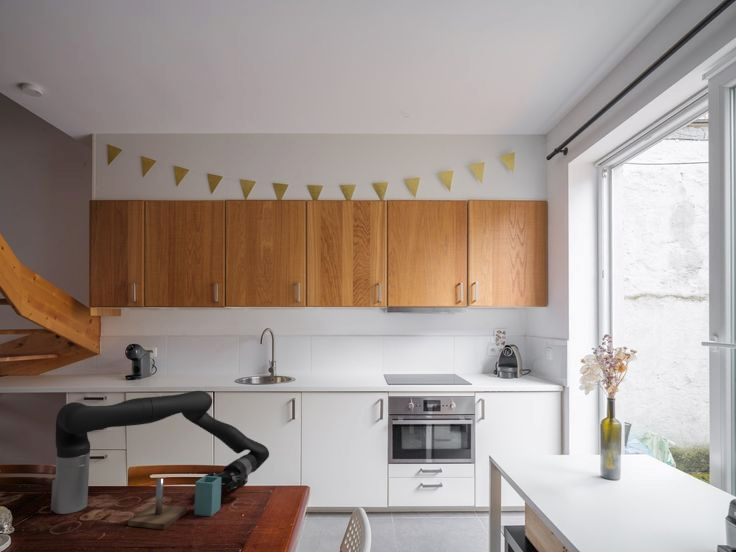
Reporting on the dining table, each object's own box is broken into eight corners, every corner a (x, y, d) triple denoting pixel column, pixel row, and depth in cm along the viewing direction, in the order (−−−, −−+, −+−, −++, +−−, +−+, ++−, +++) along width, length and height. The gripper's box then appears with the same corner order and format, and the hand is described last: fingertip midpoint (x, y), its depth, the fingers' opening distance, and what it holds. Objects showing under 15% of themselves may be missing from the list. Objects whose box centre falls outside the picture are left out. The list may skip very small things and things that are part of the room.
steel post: (153, 514, 147) (155, 479, 147) (157, 512, 148) (159, 477, 149) (159, 515, 146) (161, 480, 147) (163, 512, 148) (164, 477, 149)
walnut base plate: (127, 525, 142) (128, 520, 143) (152, 508, 154) (153, 504, 154) (164, 529, 140) (164, 524, 140) (186, 512, 152) (187, 507, 152)
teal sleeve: (194, 514, 151) (195, 482, 151) (203, 507, 156) (205, 475, 157) (211, 516, 150) (212, 483, 150) (220, 508, 155) (221, 477, 156)
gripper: (219, 459, 175) (196, 473, 160) (256, 462, 173) (235, 477, 157) (218, 480, 175) (195, 496, 159) (255, 483, 172) (235, 500, 156)
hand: (215, 487), depth 158 cm, fingers open, 8 cm apart
